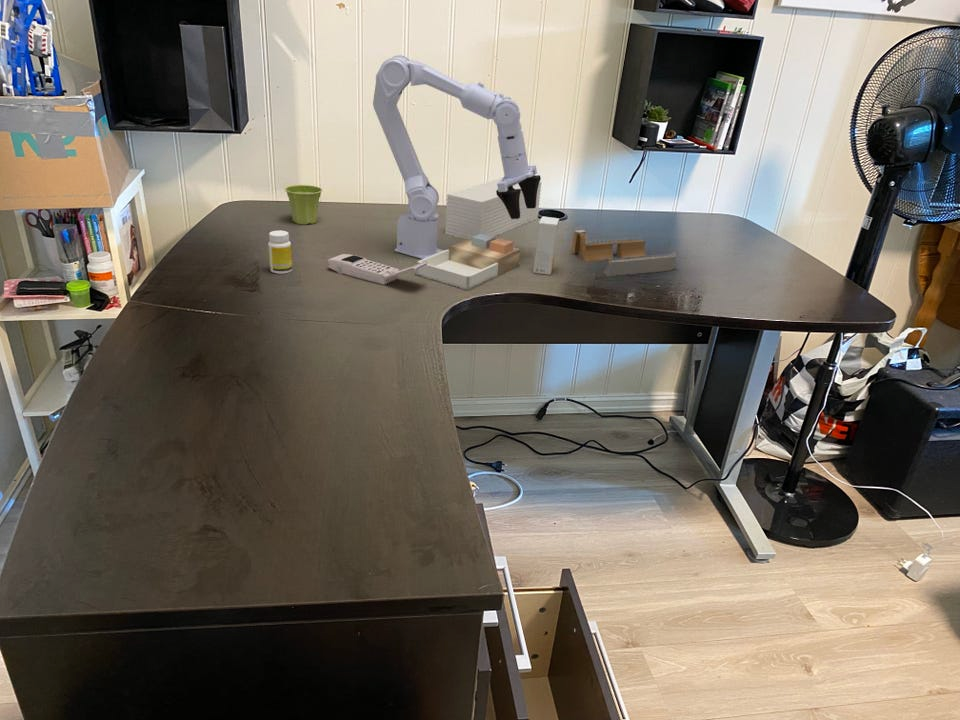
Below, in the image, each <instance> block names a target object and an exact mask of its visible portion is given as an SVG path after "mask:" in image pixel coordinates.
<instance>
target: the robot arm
mask: <svg viewBox="0 0 960 720" xmlns="http://www.w3.org/2000/svg"><path fill="white" fill-rule="evenodd" d="M409 84H410V86H411V87H412V86H413V87H414V86H420V85H421V86H422V85H426V86H429V87H432V88H433V89H436V90H438V91H440V92H442V93H445V94H447V95H449V96H452V97H453V98H456V99H458V100H459V101H460V104H461V106H462V108H464V109H465V110H467V111H470V112H471V113H473V114H475V115H478V116H480V117H482V118H485V119H486V120H492V121H493V122H494V124H495V125H496V130H497V140H498V141H497V142H498V146H499V151H500V152H499V153H500V158H501V164H502V170H503V177H501V178H502V180H501V181H500V182H499V183H497V186H498V190H497V191H496V193H497V196H498V197H499V198H500V199H501V200H502V202H503V203H504V205H505V207H506V209H507V211H508V213H509V215H510V217H511V219H519V218H520V206H519V198H520V192H521V190H522V193H523V196H524V200H525V204H526V207H527V209H529V208H536V199H537V190H538V186H539V182H541V179H542V178H541V175H539V174H538V171H537V165H535V164H534V165H529V163H528V156H527V155H528V154H527V151H526V150H527V149H526V143H525V138H524V137H525V136H524V132H523V131H522V123H521V121H520V119H521V112H520V108H519V107H520V106H519V105H518V103H517V102H516V101H515V100H513V99H512V98H511V97H509V96H505V95H504V94H503V93H502V92H499V93H497V92H496V91H493V90H491V89H489V88H486V87H485V83H483V82H481V81H478V83H476V82H475V81H473V82H469V83H467V84H464V83H462V82H461V81H458V80H456V79H454V78H453V77H450V76H449V75H447V74H446V73H443V72H441V71H439V70H438V69H435V68H434V67H432V66H430V65H428V64H425V63H423V62H421V61H419V60H416V59H412V58H411V59H410V58H408V57H406V56H405V55H401V54H400V55H399V54H398V55H394V56H392V57H390V58H388V59H386V60H385V61H384V62H382V64H381V65H380V67H379V69H378V71H377V73H376V74H375V86H374V93H373V98H372V99H373V100H372V106H373V109H374V112H375V115H376V116H377V119H378V121H379V124H380V126H381V128H382V131H383V134H384V136H385V138H386V141H387V143H388V146H389V148H390V150H391V152H392V156H393V158H394V161H395V163H396V165H397V167H398V169H399V172H400V175H401V177H402V179H403V183H404V189H405V194H406V196H407V200H408V204H407V208H408V212H404V213H402V214H401V215H400V216H399V218H398V220H397V226H396V248H395V249H394V251H395V252H397V253H401V254H404V255H408V256H411V257H414V258H417V259H420V260H422V259H425V258H427V257H430V256H432V255H435V254H437V253H440V252H442V251H445V250H444V249H441V248H438V243H439V241H438V239H439V237H438V235H439V213H438V212H437V211H436V206H437V205H438V203H439V201H440V195H439V192H438V190H437V189H436V187H434V186H433V185H432V184H431V183H430V180H429V178H428V176H427V175H426V174H425V172H424V169H423V168H422V165H421V163H420V160H419V158H418V156H417V153H416V150H415V148H414V145H413V143H412V141H411V138H410V135H409V133H408V130H407V128H406V126H405V123H404V120H403V117H402V115H401V113H400V110H399V108H398V103H399V101H400V99H401V97H402V94H403V91H404V90H405V88H406V87H407V86H408V85H409ZM504 96H505V97H504ZM536 174H537V175H536ZM517 183H518V184H519V186H520V188H521V189H514V188H513V186H514V185H516V184H517Z"/></svg>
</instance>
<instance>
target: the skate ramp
mask: <svg viewBox="0 0 960 720" xmlns="http://www.w3.org/2000/svg"><path fill="white" fill-rule="evenodd" d="M586 229H587V228H586V227H584V226H583V227H579V228H577V226H575V227H574V230H573V232H574V233H573V240H572V246H571V254H573V255H576V254H575V253H578V259H580V260H581V261H583V262H593V261H595V260H596V261H606V259H608V261H607V265H606V268H605V270H604V271H602V274H604V275H606V276H608V277H617V275H619V276H627V274H629V275H636V274H637V273H639V274H646V273H656V272H657V273H658V272H668V271H674V268H675V264H676V263H675V262H676V259H677V258H676V257H677V254H675V251H673V252H672V253H670V254H667V255H665V254H663V253H662V254H661V253H660V254H658V255H657V254H654V256H653V254H652V255H647V254H646V250H645V249H646V248H645V243H646V241H645V240H644V239H643V236H640V237H633V239H632V237H629V236H628V237H625V238H624V237H621V240H620V237H618V238H613V240H612V238H609V241H608V238H605V239H604V238H603V239H600V240H599V239H596V242H595V240H592V239H591V240H589V238H588V236H587V233H586ZM641 237H642V238H641ZM640 238H641V239H640ZM628 239H629V240H628ZM616 240H617V241H616ZM603 241H606V242H603ZM590 242H592V243H590ZM613 245H617V246H616V252H615V255H616V254H617V255H616V256H618V255H619V256H618V257H619V259H618V258H615V257H614V255H613V254H614V253H613ZM640 256H641V257H640ZM621 257H622V258H621ZM628 257H629V258H628ZM613 258H614V259H613ZM604 259H605V260H604ZM637 275H638V274H637Z"/></svg>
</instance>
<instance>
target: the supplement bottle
mask: <svg viewBox="0 0 960 720" xmlns="http://www.w3.org/2000/svg"><path fill="white" fill-rule="evenodd" d="M268 235H269V237H268V238H269V241H268V242H267V245H268V246H267V247H268V261H269V263H268V264H269V269H270V270H269V271H270V272H272V273H274V274H278V275H279V274H280V275H284V274H289V273H291V272H292V271H293V257H292V256H293V255H292V242H291V241H290V235H289V232H288V231H285V230H272V231H270V232H269V233H268Z"/></svg>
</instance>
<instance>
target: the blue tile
mask: <svg viewBox="0 0 960 720" xmlns="http://www.w3.org/2000/svg"><path fill="white" fill-rule="evenodd" d="M495 239H496V236H494V237H493V236H489V235H485V234H478V235H476V236H473V237H472V242H471V245H472V246H476V247H480V248H483V249H487V248H489V247H490V242H491V241H493V240H495Z"/></svg>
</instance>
